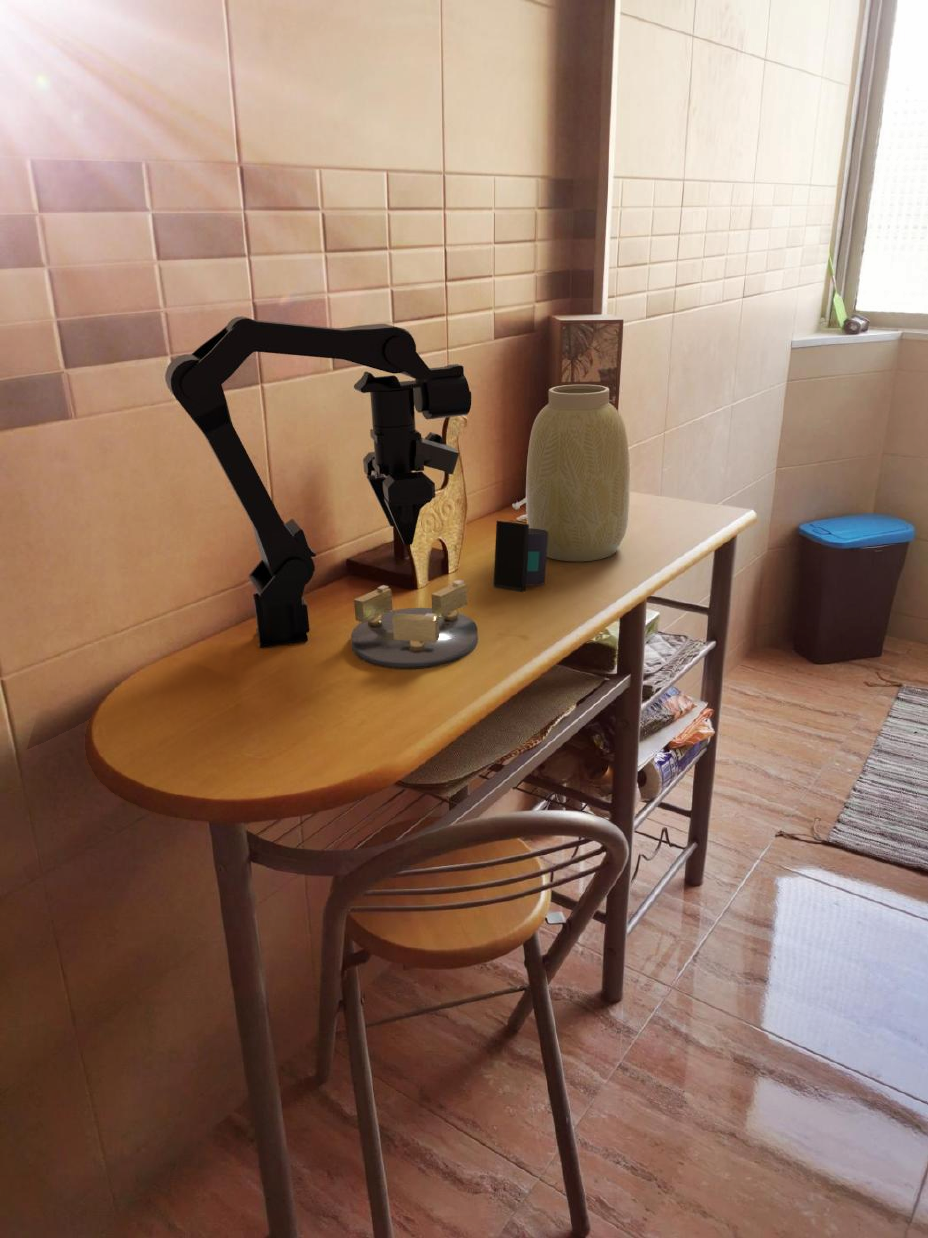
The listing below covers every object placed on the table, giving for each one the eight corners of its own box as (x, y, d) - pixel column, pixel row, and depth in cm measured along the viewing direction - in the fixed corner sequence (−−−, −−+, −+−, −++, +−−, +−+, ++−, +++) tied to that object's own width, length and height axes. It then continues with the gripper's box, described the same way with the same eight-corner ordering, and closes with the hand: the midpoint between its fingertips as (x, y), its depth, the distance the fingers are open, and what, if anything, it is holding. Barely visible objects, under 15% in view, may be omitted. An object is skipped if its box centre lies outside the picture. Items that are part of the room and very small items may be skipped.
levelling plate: (364, 677, 116) (362, 661, 115) (342, 627, 131) (341, 612, 130) (494, 657, 120) (493, 642, 119) (458, 610, 135) (457, 596, 134)
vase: (556, 572, 148) (557, 402, 138) (509, 543, 163) (506, 387, 153) (647, 555, 155) (655, 390, 144) (594, 528, 169) (597, 377, 159)
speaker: (518, 594, 139) (520, 526, 136) (492, 587, 144) (493, 520, 141) (553, 586, 144) (556, 520, 141) (528, 579, 148) (530, 515, 145)
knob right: (443, 627, 126) (441, 593, 124) (431, 624, 127) (430, 591, 125) (468, 614, 130) (467, 581, 128) (457, 611, 131) (456, 578, 129)
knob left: (366, 633, 125) (363, 599, 123) (355, 630, 126) (352, 596, 124) (394, 619, 129) (392, 586, 127) (384, 616, 130) (381, 584, 128)
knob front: (394, 650, 119) (391, 615, 117) (399, 644, 121) (396, 609, 119) (435, 654, 118) (433, 618, 116) (440, 647, 120) (438, 612, 118)
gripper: (471, 430, 118) (475, 547, 124) (434, 406, 134) (439, 511, 140) (385, 438, 115) (393, 558, 121) (358, 413, 132) (367, 519, 138)
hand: (401, 534), depth 130 cm, fingers open, 9 cm apart
